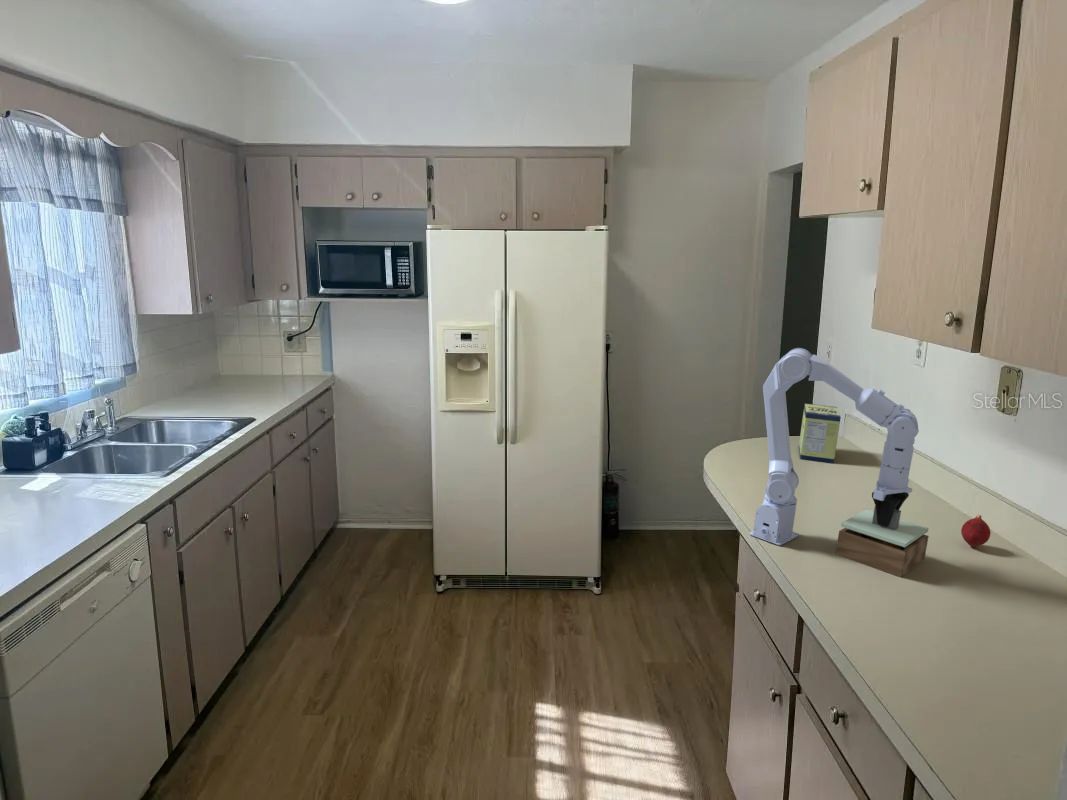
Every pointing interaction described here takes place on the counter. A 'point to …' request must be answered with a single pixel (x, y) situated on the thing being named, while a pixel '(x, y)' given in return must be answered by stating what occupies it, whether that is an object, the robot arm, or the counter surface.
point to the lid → (885, 528)
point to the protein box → (819, 433)
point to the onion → (975, 531)
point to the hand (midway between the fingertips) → (885, 523)
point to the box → (881, 552)
